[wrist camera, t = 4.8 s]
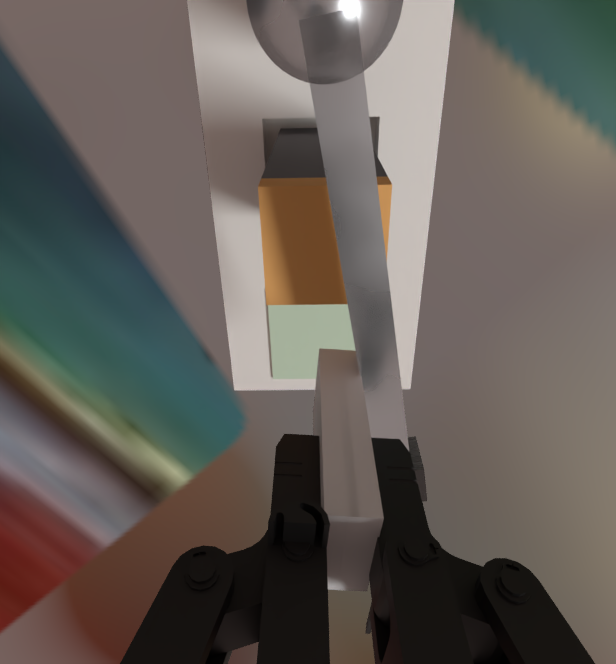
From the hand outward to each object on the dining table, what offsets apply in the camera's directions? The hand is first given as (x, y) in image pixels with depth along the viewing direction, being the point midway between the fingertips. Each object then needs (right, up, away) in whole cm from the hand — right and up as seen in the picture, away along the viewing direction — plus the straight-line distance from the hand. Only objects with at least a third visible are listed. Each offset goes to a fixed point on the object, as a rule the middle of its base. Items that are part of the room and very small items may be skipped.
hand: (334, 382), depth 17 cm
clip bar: (+1, +3, -2) cm, 4 cm away
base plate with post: (0, +8, +11) cm, 13 cm away
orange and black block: (0, +10, +8) cm, 13 cm away
